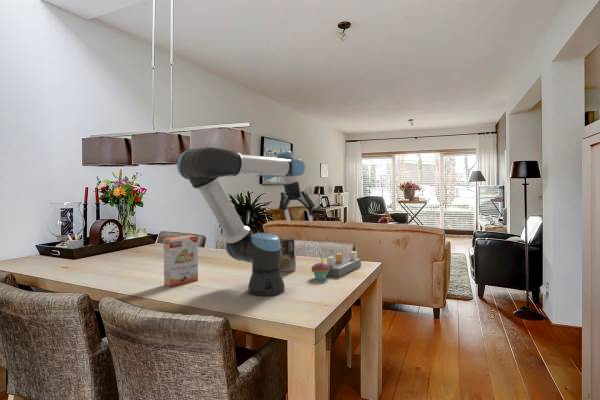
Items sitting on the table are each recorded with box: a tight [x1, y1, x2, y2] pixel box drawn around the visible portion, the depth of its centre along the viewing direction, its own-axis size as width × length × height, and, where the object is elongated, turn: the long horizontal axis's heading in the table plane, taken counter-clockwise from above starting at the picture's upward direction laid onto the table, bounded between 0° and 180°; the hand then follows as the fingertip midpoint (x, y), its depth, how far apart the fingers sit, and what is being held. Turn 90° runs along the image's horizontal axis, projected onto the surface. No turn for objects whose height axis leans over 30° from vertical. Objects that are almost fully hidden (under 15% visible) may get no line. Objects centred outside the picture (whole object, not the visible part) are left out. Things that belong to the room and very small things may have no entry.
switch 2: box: [335, 252, 344, 263], centre depth 179 cm, size 3×2×4 cm
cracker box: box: [163, 234, 199, 288], centre depth 157 cm, size 14×6×21 cm, turn 139°
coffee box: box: [279, 237, 297, 272], centre depth 179 cm, size 9×6×16 cm
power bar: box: [326, 256, 362, 278], centre depth 178 cm, size 26×9×4 cm, turn 147°
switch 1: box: [326, 256, 335, 266], centre depth 171 cm, size 3×2×4 cm
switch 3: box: [349, 250, 358, 260], centre depth 184 cm, size 3×2×4 cm
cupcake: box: [311, 252, 330, 281], centre depth 163 cm, size 9×8×12 cm
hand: (299, 221), depth 179 cm, fingers open, 13 cm apart
